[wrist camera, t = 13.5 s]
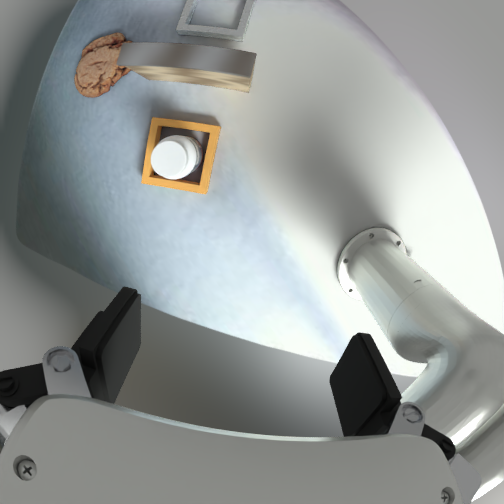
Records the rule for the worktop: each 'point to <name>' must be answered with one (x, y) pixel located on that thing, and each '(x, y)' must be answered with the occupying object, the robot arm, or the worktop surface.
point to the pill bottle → (176, 156)
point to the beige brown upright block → (190, 64)
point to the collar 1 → (211, 31)
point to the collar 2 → (180, 184)
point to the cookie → (100, 65)
